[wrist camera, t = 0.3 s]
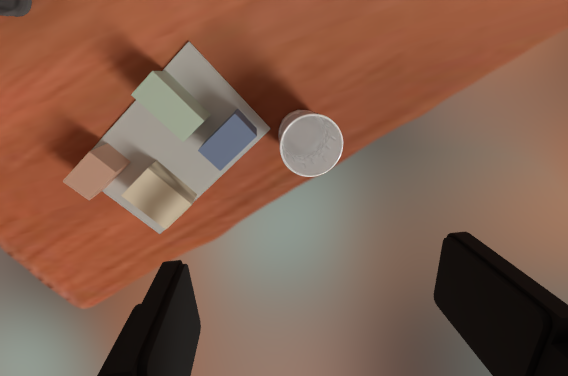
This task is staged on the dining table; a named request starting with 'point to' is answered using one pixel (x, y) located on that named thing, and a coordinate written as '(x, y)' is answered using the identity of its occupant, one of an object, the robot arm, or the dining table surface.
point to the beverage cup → (15, 7)
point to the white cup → (309, 143)
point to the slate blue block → (228, 140)
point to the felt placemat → (166, 145)
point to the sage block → (171, 104)
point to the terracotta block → (96, 171)
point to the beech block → (160, 195)
